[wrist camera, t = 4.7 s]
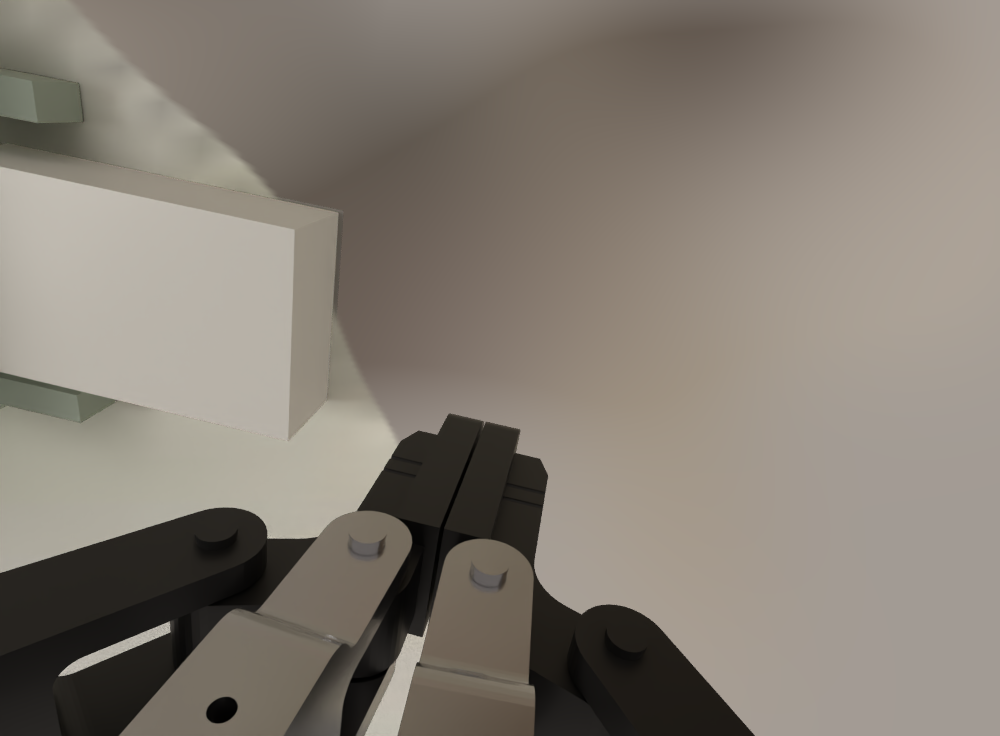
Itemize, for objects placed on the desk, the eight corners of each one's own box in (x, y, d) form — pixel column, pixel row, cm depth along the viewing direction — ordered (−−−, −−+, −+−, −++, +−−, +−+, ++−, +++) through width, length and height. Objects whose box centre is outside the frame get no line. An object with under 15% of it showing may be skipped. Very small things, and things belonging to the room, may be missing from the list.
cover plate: (22, 143, 18) (-82, 149, 15) (343, 210, 17) (294, 229, 15) (49, 329, 20) (-36, 363, 18) (331, 395, 20) (288, 441, 17)
